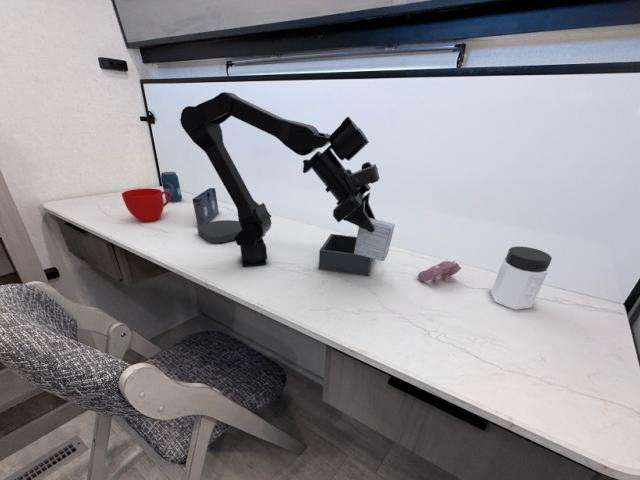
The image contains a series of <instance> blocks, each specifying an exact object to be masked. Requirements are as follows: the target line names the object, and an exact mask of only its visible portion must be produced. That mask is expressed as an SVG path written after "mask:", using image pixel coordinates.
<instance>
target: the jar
mask: <svg viewBox="0 0 640 480" xmlns="http://www.w3.org/2000/svg"><path fill="white" fill-rule="evenodd" d="M552 259H553V258H552V255H550V254H549V253H547V252H545V251H543V250H541V249H537V248H533V247H528V246H512V247H510V248H509V249H508V252H507V253H506V256H505V257H503V260H502V263H501V264H500V267H499V270H498V273H497V276H496V278H495V280H494V284H493V286H492V288H491V291H490V293H491V296H492V299H493V302H494V303H497V304H499V305H501V306H504V307H507V308H509V309H511V310H522V309H523V310H525V309H530V308H532V307H533V305H534V304H535V303H534V302H535V301H536V299H537V297H538V295H539V293H540V290H541V288H542V286H543V284H544V281H545V280H546V278H547V275H548V273H549V270H548V268H549V266H550V265H551V262H552Z"/></svg>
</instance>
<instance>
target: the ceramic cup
mask: <svg viewBox="0 0 640 480" xmlns="http://www.w3.org/2000/svg"><path fill="white" fill-rule="evenodd" d="M164 193H167V195H168V199H167V200H166V201H165V202H164V196H163V195H165V194H164ZM121 197H122V200H123V203H124V205H125V207H126V209H127V210H128V212H129V213H130V215H132V216H133V218H135V219H136V220H138V221H139V222H141V223H152V222H156V221H158V220H160V218H161V216H162V214H163V212H164V207H166V206H167V205H168V204H169V203H170V202H169V201H170V198H171V197H170V194H169V193H168V192H167V191H164V190H163V191H162V190H161V189H159V188H150V187H149V188H135V189H128V190H125V191H123V192H122V193H121Z"/></svg>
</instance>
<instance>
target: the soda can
mask: <svg viewBox="0 0 640 480" xmlns="http://www.w3.org/2000/svg"><path fill="white" fill-rule="evenodd" d="M160 174H161V175H160V180H161V185H162V189H163V191H167V192H168V193H169V194H170V197H171V198H170V201H169V203H179V202H182V199H183V194H182V191H181V185H180V181H179V176H178V175H177V173H176V171H164V172H163V171H162V172H161V173H160ZM163 195H164V198H165V200H166V201H167V199H168V195H167V193H164V194H163Z"/></svg>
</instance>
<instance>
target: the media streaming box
mask: <svg viewBox="0 0 640 480" xmlns="http://www.w3.org/2000/svg"><path fill="white" fill-rule="evenodd" d="M241 230H242V228H241V226H240V223H239V220H231V219H230V220H229V219H227V220H225V219H223V220H215V221H210V222H209V223H206V224H203V225H201V226H199V227H198V226H197V233H198V236H200V237H202V238H203V239H204V240H206V241H207V242H209V243H213V244H219V243H227V242H231V241H235V239H234V237H235V236H236V235H237V234H238V233H239V232H240V231H241Z"/></svg>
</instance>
